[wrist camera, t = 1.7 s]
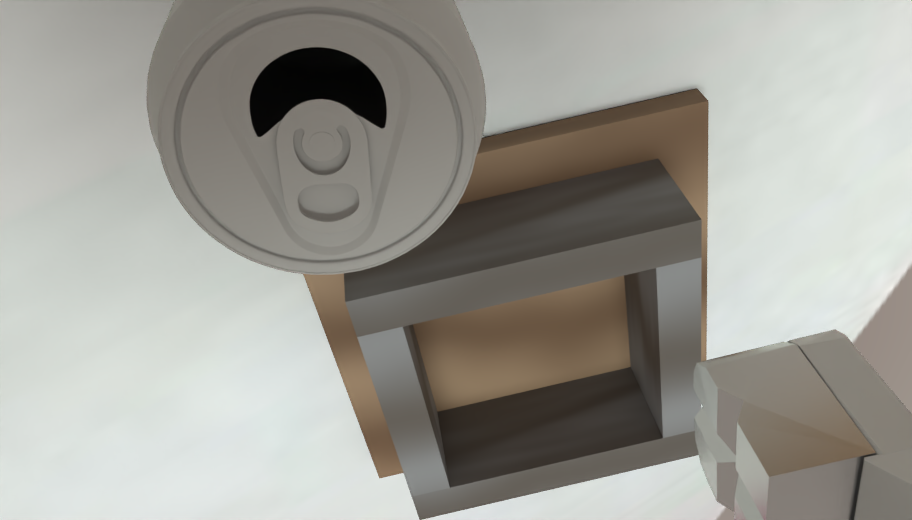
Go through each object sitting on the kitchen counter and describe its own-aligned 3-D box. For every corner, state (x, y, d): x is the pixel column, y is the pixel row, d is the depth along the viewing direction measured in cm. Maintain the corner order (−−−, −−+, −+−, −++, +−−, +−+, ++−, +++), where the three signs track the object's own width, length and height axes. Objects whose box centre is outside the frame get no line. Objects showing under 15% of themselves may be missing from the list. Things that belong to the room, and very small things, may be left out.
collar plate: (277, 185, 28) (270, 270, 24) (697, 88, 28) (760, 157, 24) (378, 460, 37) (385, 556, 33) (697, 386, 37) (743, 472, 33)
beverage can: (422, -164, 23) (503, -43, 13) (429, 57, 26) (495, 279, 17) (187, -157, 22) (87, -23, 12) (228, 69, 26) (176, 308, 16)
